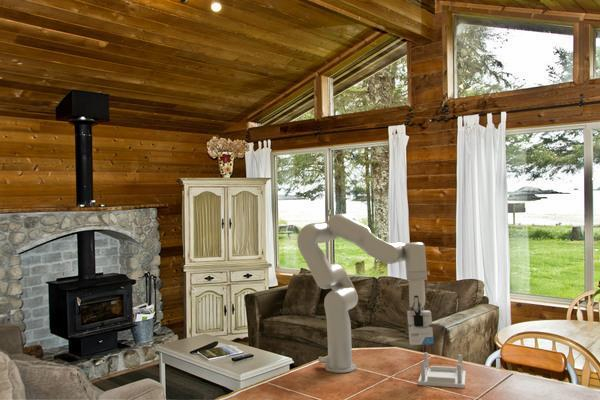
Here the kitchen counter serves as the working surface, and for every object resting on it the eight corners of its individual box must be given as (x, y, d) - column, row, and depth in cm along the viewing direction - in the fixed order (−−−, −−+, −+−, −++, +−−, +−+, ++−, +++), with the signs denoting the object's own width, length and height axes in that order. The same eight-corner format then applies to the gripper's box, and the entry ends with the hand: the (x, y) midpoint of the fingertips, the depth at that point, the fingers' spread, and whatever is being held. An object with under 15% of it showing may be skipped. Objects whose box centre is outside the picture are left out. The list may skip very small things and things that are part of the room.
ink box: (432, 341, 198) (429, 309, 198) (433, 344, 193) (431, 312, 193) (408, 341, 199) (406, 310, 199) (410, 345, 194) (407, 313, 194)
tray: (418, 384, 189) (417, 363, 190) (422, 371, 205) (421, 351, 205) (464, 388, 184) (463, 366, 185) (465, 373, 200) (464, 353, 200)
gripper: (409, 273, 206) (412, 319, 205) (403, 278, 190) (406, 329, 189) (429, 272, 203) (432, 319, 203) (424, 278, 187) (427, 329, 186)
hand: (419, 324), depth 196 cm, fingers closed on ink box, 5 cm apart
